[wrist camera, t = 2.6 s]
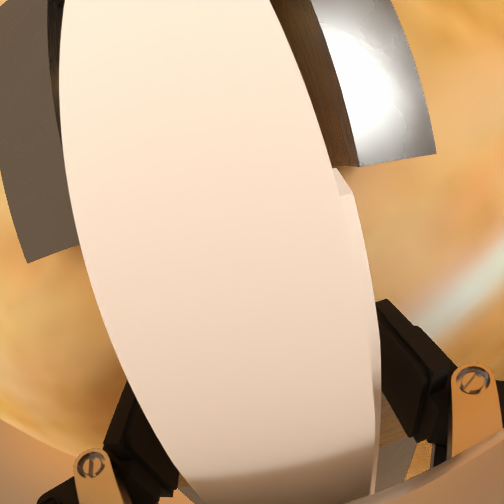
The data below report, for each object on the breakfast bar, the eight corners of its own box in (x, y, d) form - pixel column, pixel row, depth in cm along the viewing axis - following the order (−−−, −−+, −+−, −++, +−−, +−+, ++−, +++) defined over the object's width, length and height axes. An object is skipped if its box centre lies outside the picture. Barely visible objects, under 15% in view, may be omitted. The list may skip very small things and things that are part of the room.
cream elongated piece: (269, 468, 18) (279, 607, 5) (163, 117, 15) (34, -23, 3) (339, 450, 18) (387, 582, 5) (255, 92, 15) (264, -98, 3)
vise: (304, -30, 8) (333, -93, 4) (377, 448, 18) (397, 495, 13) (56, 42, 9) (-5, 10, 4) (231, 483, 18) (233, 533, 13)
